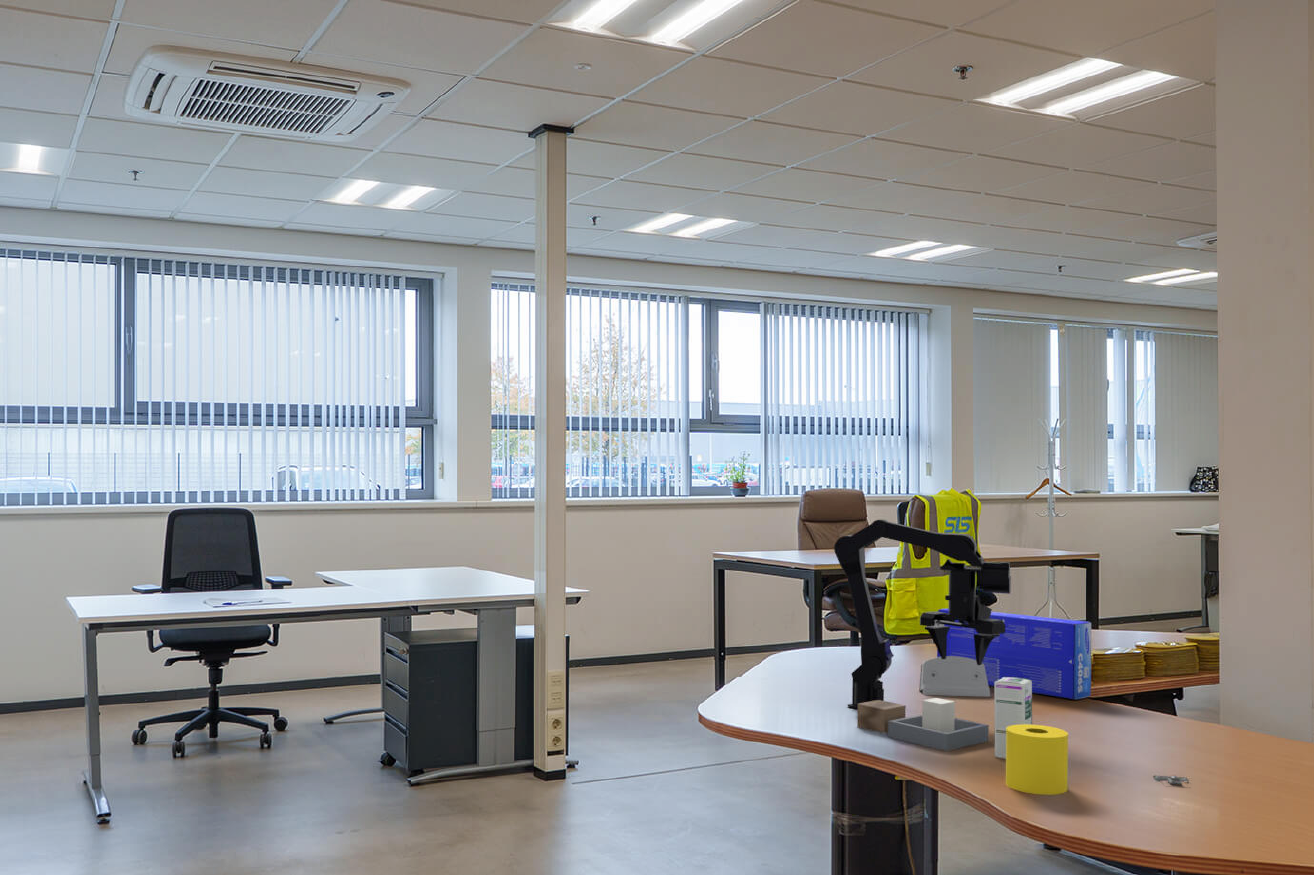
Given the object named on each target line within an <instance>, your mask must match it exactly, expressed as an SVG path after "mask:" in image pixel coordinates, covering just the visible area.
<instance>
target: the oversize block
mask: <svg viewBox="0 0 1314 875" xmlns="http://www.w3.org/2000/svg"><path fill="white" fill-rule="evenodd" d="M902 718H906V705H904V704H900V703H895V702H890V701H886V700H884V701H882V700H875V701H870V702H864V703H859V704H858V709H857V721H856V722H857V728H861V729H865V730H869V731H874V732H878V733H882V734H887V733H888V721H891V720H896V719H902Z"/></svg>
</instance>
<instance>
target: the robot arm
mask: <svg viewBox="0 0 1314 875" xmlns="http://www.w3.org/2000/svg"><path fill="white" fill-rule="evenodd" d="M881 538H884V539H889V540H892V541H895V542H896V541H897V542H901V543H905V544H909V545H910V544H911V545H915V546H918V547H921V548H927V549H931V550H933V551H935V552H938V553H940V554H941V555H944V556H946V557H949V558H948V559H946V561H945V562H944V564H942V565H941V566H940V567H939V569H940V570H941V571H948V595H947V594H946V595H945V596H944V599H945V601H948V609H949V614H947V613H943V612H938V611H927V612H922V614H921V615H920V617H919V625H920V626H923V627H924V630H925V631H928V634H929V635H930V638H931V639H932V641H933V643H934V645H935V647H936V651H937V650H938V652H939V654H940V656H941V658H942V659H946V654H947V633H948V631H949V629H950V627H948V626H945V625H951V626H958V627H966V628H973V629H975V630H976V631H977V633H980V634H974V643H975V654H976V662H977V665H981V664H982V662H983V659H984V657H985V654H986V651H987V649H988V646H989V645H990V643H991V641H992V640H993V639H994V638H995V637H999V635H1000V634H1001V633H1005V624H1004V622H1003V620H998V619H990V615H991V612H993V611H992V610H993V609H992V608H991V607H989V606H987V605H984V604H982V603H981V601H980V600H981V598H980V596H979V595H976V584H978V585H977V587H978V588H980V589H983V593H988V594H989V593H991V594H1011V591H1012V590H1011V588H1012V576H1011V568H1010V566H1011V563H1010V562H1009V561H1002V562H992V561H991V562H990V561H989V562H988V561H985V559H984V557H983V556H982V555H981V554H980V552H979V551H978V545H977V542H976V540H975V539H974V537H972V535H969V534H967V533H955V532H954V533H949V532H935V531H930V530H926V529H922V528H918V527H913V526H908V525H904V524H900V523H895V522H891V521H888V520H887V519H884V518H881V519H876V520H874V521H873V522H872V523H871V524H869V525H867V526H866V527H864V528H862V529H861V530H859V531H857V532H856V533H854V534H848V535H844V536H840V537H839V538H838V539H837V540H836V541H835V543H834V547H833V551H834V553H835V556H836V559H837V560H838V563H839V566H840V567H841V569H842V571H843V572H844V574H845V576H846V579H847V583H848V587H849V591H850V595H851V600H852V603H853V608H854V612H855V616H856V620H857V625H858V629H859V633H860V634H859V635H860V661H861V662H860V664H861V665H859V666H857V668H856V669H855V670H853V671H852V672H851V678H852V693H851V694H852V695H851V696H852V699H851V700H852V703H848V704H847V708H852V709H857V710H858V704H859V703H864V702H870V701H875V700H882V701H885V700H884V698H885V689H884V688H883V687H884V685H883V684H884V681H881V680H880V679H881V678H882V676H883V674H885V673H886V672H887V671H888V670H889V669H890V667H891V666H892V660H893V659H892V658H894V656H895V655H894V654H893V651H892V650H891V642H890V639H889V638H887V639H885V640H884V639H883V637H882V635H881V632H880V631H879V627H878V623H877V619H876V618H877V617H876V614H875V611H874V605H873V601H872V598H871V594H870V590H869V585H868V581H867V577H866V552H865V551H866V550H865V549H866V548H868V547H870V546H871V545H873V544H874V543H875V542H877V541H879V540H880V539H881ZM951 559H953V560H955V561H958V562H952V560H951ZM964 562H966V563H967V564H969V566H971V567H967V565H966V563H964ZM977 572H978V575H976V573H977ZM976 577H977V578H976ZM976 579H977V580H976ZM976 581H977V583H976ZM955 620H959V622H955ZM965 623H966V624H965Z"/></svg>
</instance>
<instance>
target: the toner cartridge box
mask: <svg viewBox="0 0 1314 875" xmlns="http://www.w3.org/2000/svg"><path fill="white" fill-rule="evenodd" d="M937 612H943V613H947V614H949V608H941V609H938V610H937ZM990 619H998V620H1003V622H1004V624H1005V633H1001V634H1000V635H999V637H995V638H994V639H993V640H992V641H991V643H990V645H989V646H988V649H987V651H986V654H985V657H984V659H983V662H982V663H983V664H984V666H985V671H986V676H987V681H988V686H989V687H993V688H994V682H995V681H998V680H1000V679H1002V678H1003V677H1014V678H1023V679H1029V680H1031V681H1032V694H1039V695H1046V696H1051V697H1052V696H1053V697H1057V698H1064V699H1070V700H1074V701H1076V700H1080V699H1084V698H1088V697H1090V696H1091V692H1092V691H1091V690H1092V688H1091V687H1092V622H1091V621H1084V620H1075V619H1074V620H1073V619H1067V618H1065V619H1064V618H1055V617H1054V618H1053V617H1044V616H1037V615H1035V616H1034V615H1025V614H1019V613H1018V614H1017V613H1016V614H1015V613H1008V612H1007V613H1006V612H996V611H991V615H990ZM955 622H959V620H955ZM965 624H966V623H965ZM945 626H948V627H950V629H949V631H948V633H947V654H946V656H959V657H966V658H970V659H973V660H976V654H975V643H974V634H980V633H977V631H976V630H975V629H973V628H966V627H958V626H951V625H945ZM937 657H941V656H940V654H939V652H938V650H937V649H936V658H937Z"/></svg>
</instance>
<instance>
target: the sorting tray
mask: <svg viewBox="0 0 1314 875" xmlns="http://www.w3.org/2000/svg"><path fill="white" fill-rule="evenodd" d="M989 727H990V726H989V724H986V723H981V722H976V721H971V720H967V719H963V718H956V717H954V731H951V732H946V733H945V732H941V731H936V730H932V729H927V728H923V727H922V714H918V715H913V716H908V717H907V716H906V717H905V718H902V719H896V720H891V721H888V736H887V737H888V738H891V739H895V740H900V741H903V742H908V743H912V744H915V745H919V746H923V747H929V748H931V749H932V748H933V749H935V750H940V751H944V752H948V751H951V750H953V751H954V750H956V749H961V748H964V747H965V748H966V747H970V746H973V745H974V746H975V745H977V744H982V743H986V742H989V740H990V739H989V737H990V736H989V733H990V732H989Z"/></svg>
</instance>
